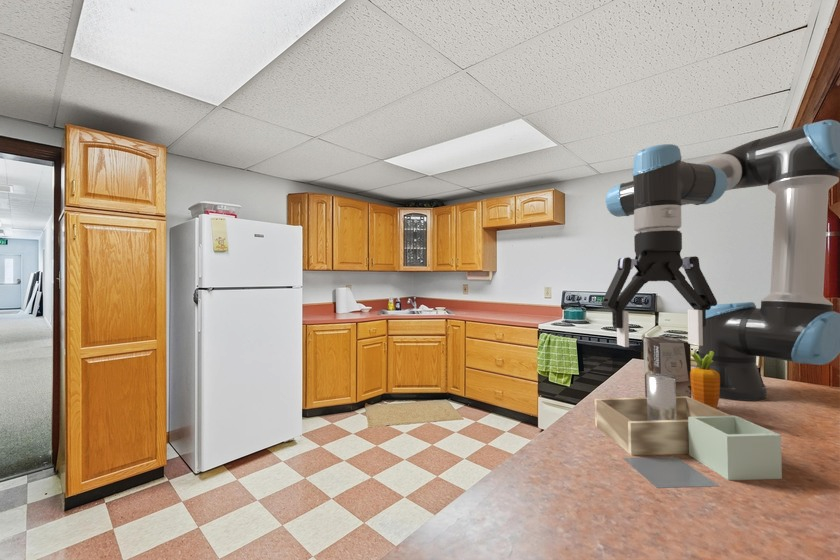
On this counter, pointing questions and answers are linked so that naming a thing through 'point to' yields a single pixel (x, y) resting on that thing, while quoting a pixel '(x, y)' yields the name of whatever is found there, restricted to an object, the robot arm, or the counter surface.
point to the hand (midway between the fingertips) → (659, 345)
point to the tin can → (661, 397)
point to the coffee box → (669, 361)
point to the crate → (648, 425)
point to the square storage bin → (735, 447)
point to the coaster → (669, 472)
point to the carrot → (705, 381)
